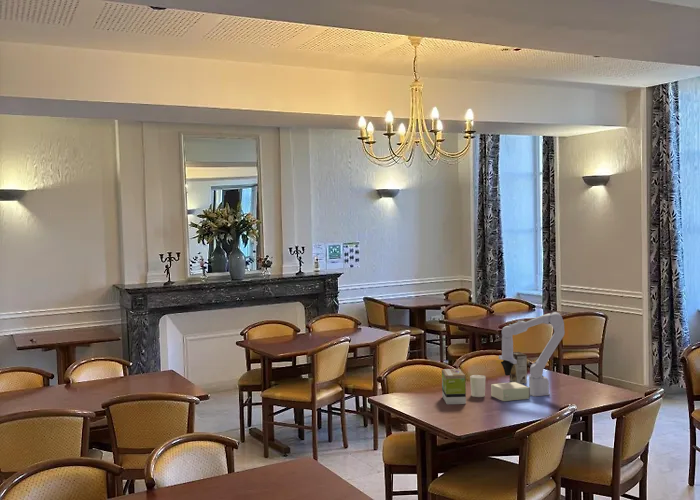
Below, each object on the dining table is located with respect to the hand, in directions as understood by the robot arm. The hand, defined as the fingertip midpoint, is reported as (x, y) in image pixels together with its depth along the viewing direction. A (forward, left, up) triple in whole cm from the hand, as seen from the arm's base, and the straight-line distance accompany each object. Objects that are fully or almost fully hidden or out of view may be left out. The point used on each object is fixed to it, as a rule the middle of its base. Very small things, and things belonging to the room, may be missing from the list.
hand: (507, 375), depth 356 cm
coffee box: (-19, -20, -10) cm, 29 cm away
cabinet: (+4, +8, -9) cm, 13 cm away
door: (+4, +15, -9) cm, 18 cm away
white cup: (+17, -1, -10) cm, 20 cm away
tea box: (+33, +3, -10) cm, 35 cm away
